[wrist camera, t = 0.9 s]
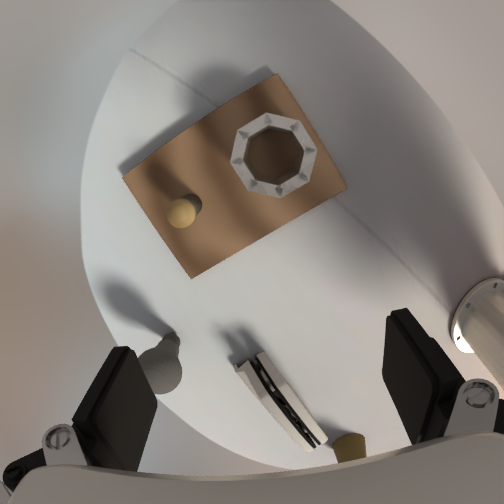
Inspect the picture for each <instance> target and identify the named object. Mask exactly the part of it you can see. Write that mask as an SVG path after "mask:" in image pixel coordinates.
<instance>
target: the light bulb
mask: <svg viewBox="0 0 504 504" xmlns="http://www.w3.org/2000/svg"><path fill="white" fill-rule="evenodd" d="M179 346H180V339H179V337H178V336H177V335H175V334H172V333H169V334H166V335H165V336H164V338H163V339H162V341H160V342H159V343H158V345H157V346H156V347H155V348H151V349H149V350H146V351H145V352H143V353H142V354H141V355H140V356H139V358H138V360H139V362H140V365H141V367H142V369H143V371H144V374H145V376H146V378H147V380H148V382H149V384H150V386H151V388H152V391H153V393H154V394H166V393H168V392H171V391H172V390H174V389H175V388H176V387H177V386H178V384H179V383H180V381H181V378H182V367H181V364H180V361H179V359H178V354H179Z"/></svg>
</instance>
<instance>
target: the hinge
mask: <svg viewBox="0 0 504 504" xmlns="http://www.w3.org/2000/svg"><path fill="white" fill-rule="evenodd" d="M256 355H257V358H256V359H255V360H256V361H257V363H258V364H259V366H260V368H261V371H259V369H258V368H257V367H256V365H255V364H254V363H253V361H251V362H249V361H248V360H247V361H246V362H245V363H244V364H243V365H242V366H241V367H238V366H237V365H236V364H235V365H233V367H234V369H235V371H236V373H237V374H238V375H239V377H240V378H241V379H242V380H243V381H244V383H245V384H246V385H247V386H248V388H249V389H250V390H251V391H252V392H253V394H254V395H255V396H256V397H257V398H258V400H259V401H260V402H261V403H262V404H263V406H264V407H265V408H266V409H267V410H268V411H269V413H270V414H271V415H272V416H273V417H274V418H275V420H276V421H277V422H278V423H279V424H280V425H281V426H282V428H283V429H284V430H285V431H286V432H287V433H288V435H289V436H290V437H291V438H292V439H293V440H294V441H295V442H296V443H297V444H298V445H299V446H300V447H301V448H302V449H303V450H304V451H305V452H306V453H309V452H311V451H314V450H315V449H314V448H316V445H315V444H314V442H313V441H312V439H311V438H310V436H311V437H312V438H313V439H314V440H315V441H316V442H317V443H318V445H320V444H322V445H323V444H324V443H325V442H326V441H327V440H328V438H327V436H326V435H325V434H324V432H323V431H322V430H321V428H320V427H319V426H318V424H317V423H316V422H315V420H314V419H313V417H312V416H311V415H310V413H309V412H308V411H307V409H306V408H305V407H304V405H303V404H302V403H301V401H300V400H299V399H298V397H297V396H296V395H295V393H294V392H293V390H292V389H291V388H290V386H289V385H288V384H287V382H286V381H285V379H284V378H283V377H282V375H281V374H280V372H279V371H278V370H277V368H276V367H275V365H274V364H273V363H272V361H271V360H270V358H269V357H268V356H267V354H266V353H265V352H261V353H259V354H256ZM273 391H276V392H277V394H278V395H279V396H280V398H281V399H282V400H283V402H284V403H285V404H284V405H282V404H281V403H280V402H279V401H278V399H277V398H276V397H275V395H274V393H273ZM295 420H298V421H297V422H296V421H295ZM307 432H308V433H309V434H310V436H309V435H308V433H307Z"/></svg>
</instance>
